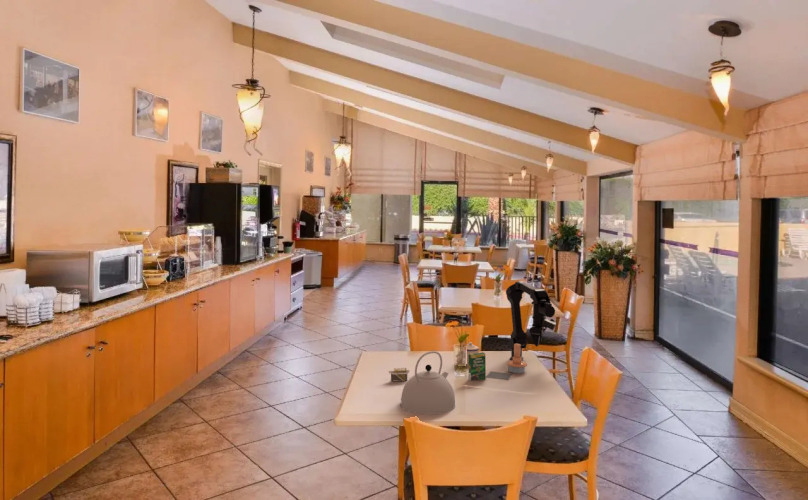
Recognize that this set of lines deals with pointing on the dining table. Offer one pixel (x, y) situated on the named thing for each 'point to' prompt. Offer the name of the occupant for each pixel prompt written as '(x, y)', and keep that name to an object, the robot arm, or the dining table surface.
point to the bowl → (517, 369)
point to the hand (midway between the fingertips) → (538, 344)
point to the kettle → (428, 391)
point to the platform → (399, 374)
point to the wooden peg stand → (517, 358)
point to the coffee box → (477, 366)
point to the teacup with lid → (471, 350)
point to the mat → (499, 375)
